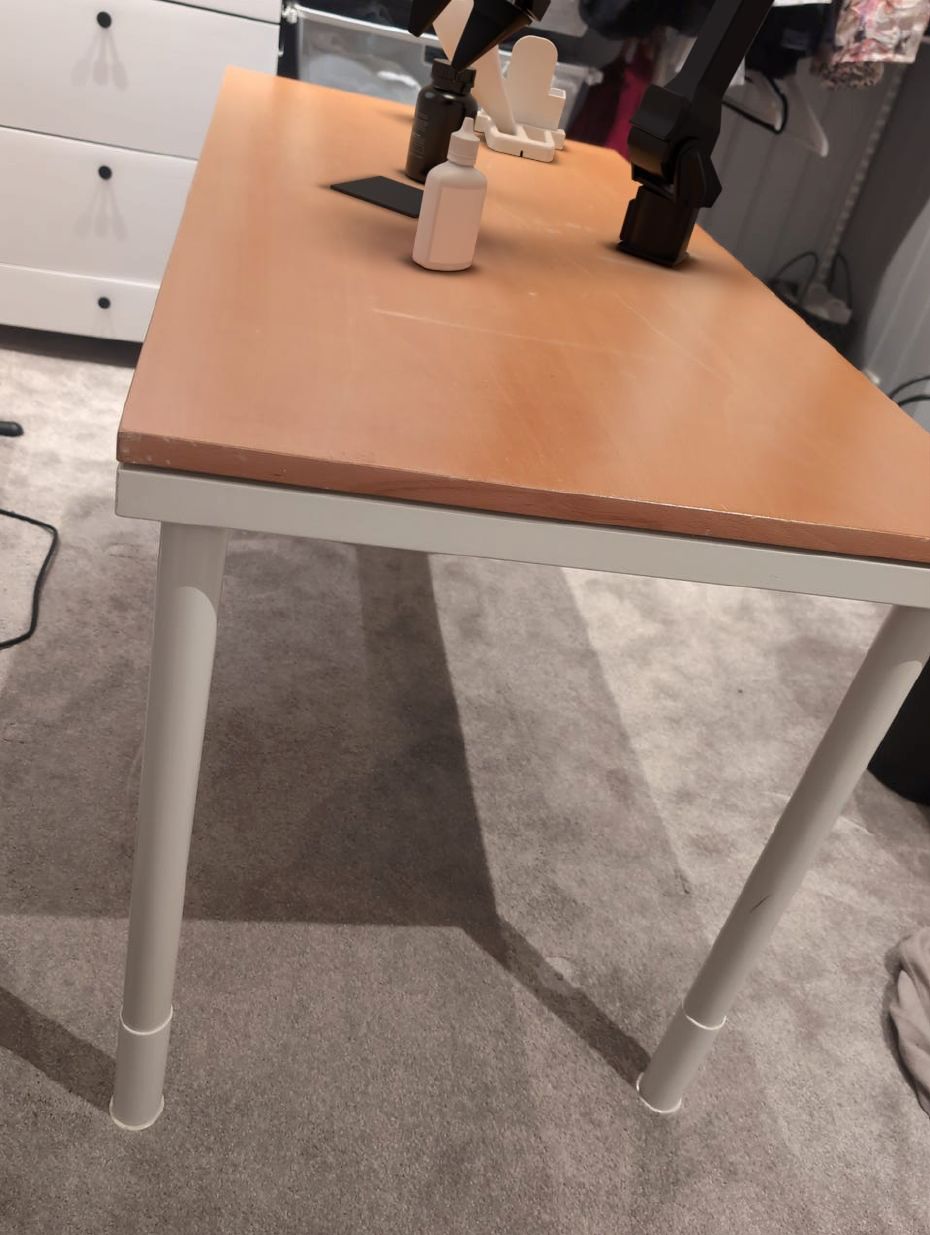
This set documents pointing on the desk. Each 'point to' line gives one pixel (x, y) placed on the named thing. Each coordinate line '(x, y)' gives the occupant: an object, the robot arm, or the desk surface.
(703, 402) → the desk surface
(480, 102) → the jewelry stand
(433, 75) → the supplement bottle
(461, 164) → the eye dropper bottle
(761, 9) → the robot arm
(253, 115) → the desk surface
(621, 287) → the desk surface
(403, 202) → the coaster
